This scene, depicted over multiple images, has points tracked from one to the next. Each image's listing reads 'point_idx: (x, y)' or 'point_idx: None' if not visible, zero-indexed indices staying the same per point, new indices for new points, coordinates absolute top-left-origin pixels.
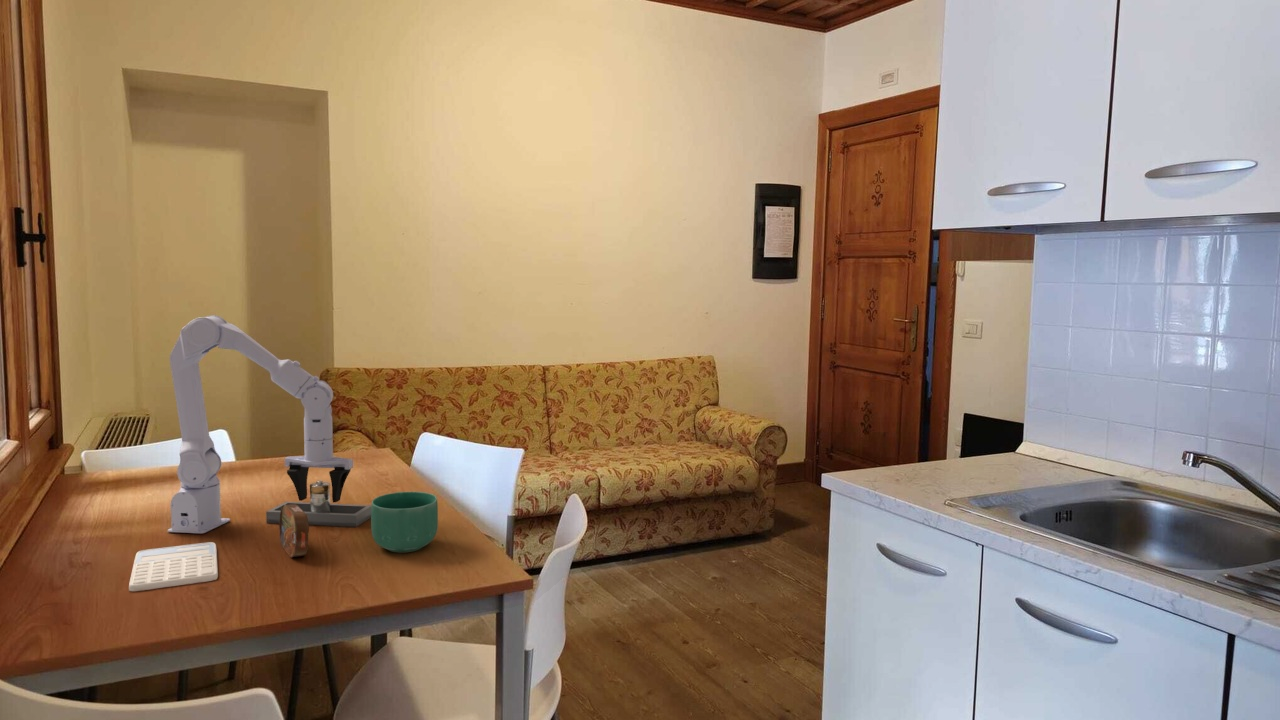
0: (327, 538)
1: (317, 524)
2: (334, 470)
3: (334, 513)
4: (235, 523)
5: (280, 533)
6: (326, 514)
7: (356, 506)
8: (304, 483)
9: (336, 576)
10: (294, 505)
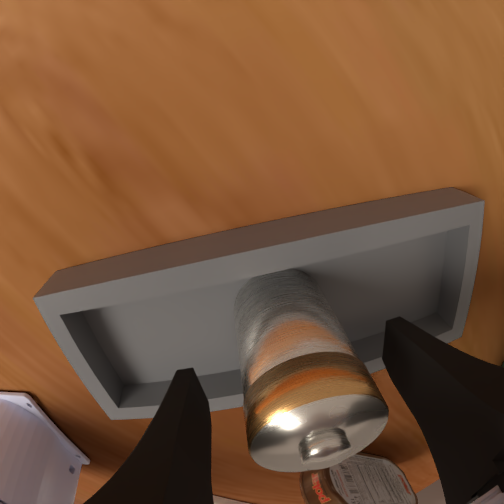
0: (393, 402)
1: None
2: (477, 496)
3: None
4: (54, 401)
5: (303, 471)
6: None
7: (433, 231)
8: (188, 455)
9: None
10: None
